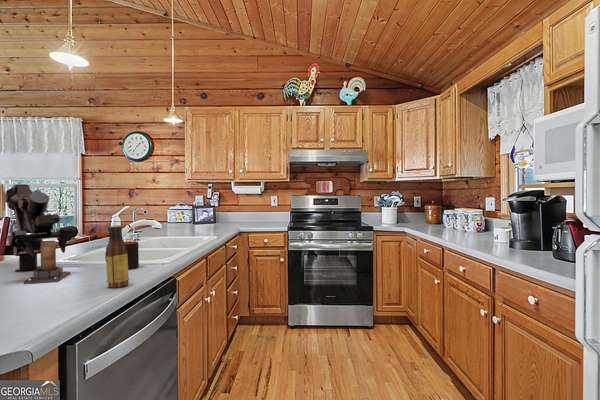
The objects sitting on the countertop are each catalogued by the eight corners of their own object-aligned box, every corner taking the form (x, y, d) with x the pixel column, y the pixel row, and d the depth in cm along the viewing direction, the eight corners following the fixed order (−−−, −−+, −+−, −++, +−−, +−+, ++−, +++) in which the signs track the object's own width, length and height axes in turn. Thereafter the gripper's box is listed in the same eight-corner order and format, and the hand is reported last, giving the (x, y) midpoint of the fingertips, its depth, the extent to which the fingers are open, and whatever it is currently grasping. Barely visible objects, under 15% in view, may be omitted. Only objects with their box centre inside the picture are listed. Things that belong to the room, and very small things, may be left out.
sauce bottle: (132, 283, 117) (131, 225, 117) (123, 288, 111) (122, 226, 111) (112, 283, 117) (111, 225, 117) (102, 288, 111) (101, 227, 111)
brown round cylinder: (45, 274, 126) (45, 240, 126) (58, 274, 127) (58, 240, 126) (37, 277, 122) (37, 242, 121) (51, 277, 122) (51, 242, 122)
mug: (105, 268, 141) (104, 243, 141) (137, 265, 147) (137, 240, 147) (106, 272, 134) (105, 245, 134) (139, 268, 140) (139, 243, 140)
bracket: (39, 276, 128) (39, 266, 128) (70, 274, 131) (70, 264, 131) (23, 284, 117) (23, 273, 117) (58, 281, 120) (58, 271, 120)
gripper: (10, 207, 118) (22, 242, 112) (71, 205, 133) (84, 236, 127) (3, 229, 123) (14, 263, 117) (63, 225, 138) (75, 255, 132)
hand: (49, 254), depth 123 cm, fingers open, 9 cm apart
